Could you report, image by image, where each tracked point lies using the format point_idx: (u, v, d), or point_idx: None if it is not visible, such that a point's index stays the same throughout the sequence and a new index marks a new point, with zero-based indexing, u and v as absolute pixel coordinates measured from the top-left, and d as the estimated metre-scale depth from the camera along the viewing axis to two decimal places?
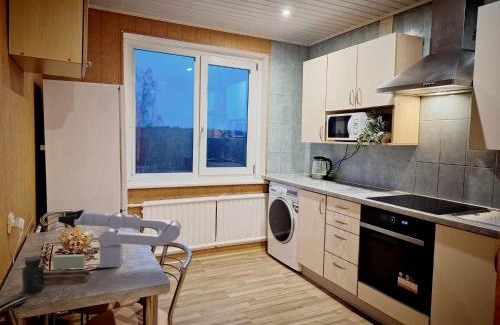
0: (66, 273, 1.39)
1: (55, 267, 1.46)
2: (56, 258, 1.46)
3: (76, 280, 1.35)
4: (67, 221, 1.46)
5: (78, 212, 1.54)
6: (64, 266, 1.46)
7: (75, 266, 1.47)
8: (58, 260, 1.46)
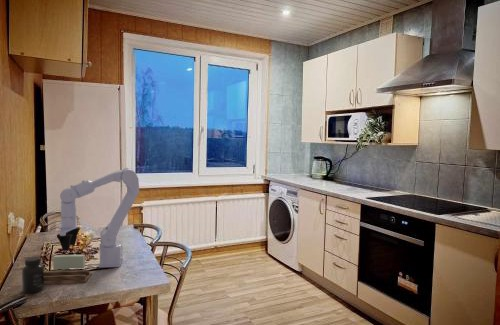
0: (66, 273, 1.39)
1: (55, 267, 1.46)
2: (56, 258, 1.45)
3: (76, 280, 1.35)
4: (66, 242, 1.42)
5: (68, 232, 1.50)
6: (64, 266, 1.46)
7: (75, 266, 1.47)
8: (58, 260, 1.46)
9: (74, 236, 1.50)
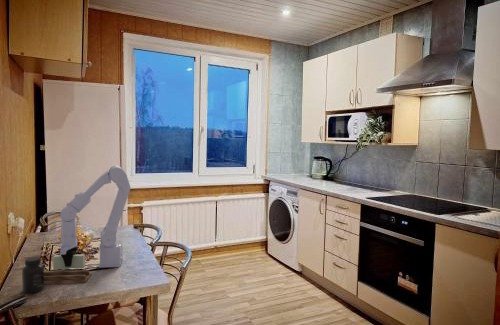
0: (66, 273, 1.39)
1: (55, 267, 1.46)
2: (56, 258, 1.45)
3: (76, 280, 1.35)
4: (69, 258, 1.46)
5: None
6: (64, 266, 1.46)
7: (75, 266, 1.47)
8: (58, 260, 1.46)
9: (72, 255, 1.49)
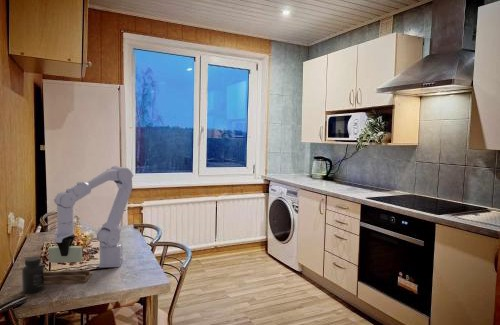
0: (66, 273, 1.39)
1: (51, 259, 1.38)
2: (52, 249, 1.38)
3: (76, 280, 1.35)
4: (65, 247, 1.38)
5: None
6: (60, 258, 1.38)
7: (72, 258, 1.39)
8: (54, 252, 1.38)
9: (69, 244, 1.41)
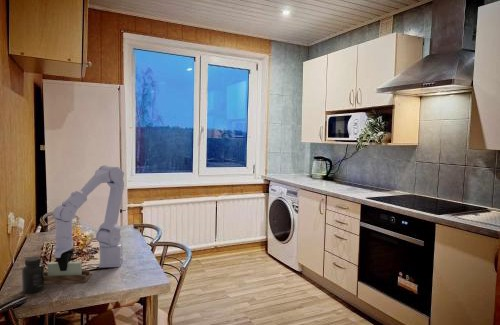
0: None
1: (49, 275, 1.35)
2: (50, 265, 1.35)
3: (76, 280, 1.35)
4: (64, 261, 1.35)
5: None
6: (59, 274, 1.36)
7: (71, 274, 1.36)
8: (53, 268, 1.35)
9: (68, 259, 1.38)
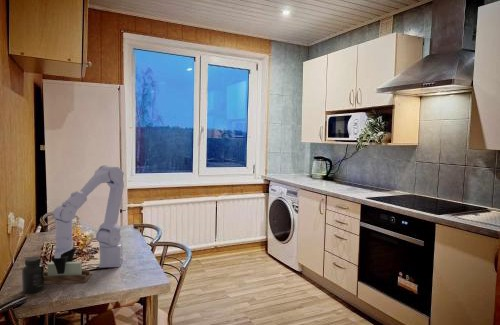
0: None
1: (49, 275, 1.35)
2: (50, 265, 1.35)
3: (76, 280, 1.35)
4: (61, 264, 1.32)
5: (63, 253, 1.40)
6: (59, 274, 1.36)
7: (71, 274, 1.36)
8: (53, 268, 1.35)
9: (70, 257, 1.40)
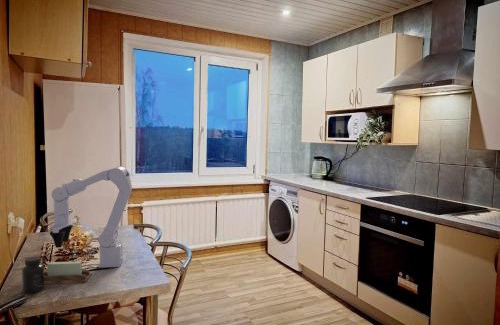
0: None
1: (49, 275, 1.35)
2: (50, 265, 1.35)
3: (76, 280, 1.35)
4: (59, 239, 1.46)
5: (61, 230, 1.53)
6: (59, 274, 1.36)
7: (71, 274, 1.36)
8: (53, 268, 1.35)
9: (67, 233, 1.54)
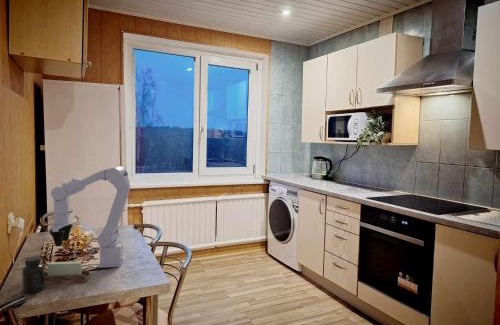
0: None
1: (49, 275, 1.35)
2: (50, 265, 1.35)
3: (76, 280, 1.35)
4: (59, 238, 1.48)
5: (61, 229, 1.55)
6: (59, 274, 1.36)
7: (71, 274, 1.36)
8: (53, 268, 1.35)
9: (67, 232, 1.56)
